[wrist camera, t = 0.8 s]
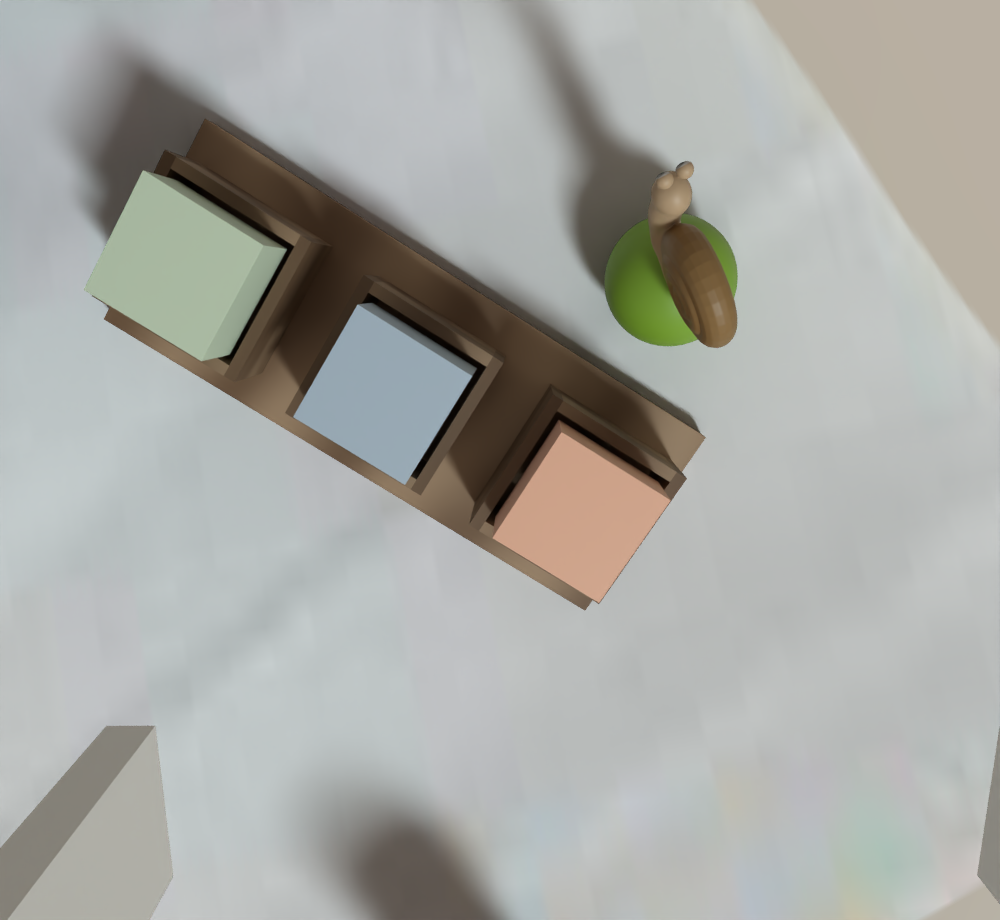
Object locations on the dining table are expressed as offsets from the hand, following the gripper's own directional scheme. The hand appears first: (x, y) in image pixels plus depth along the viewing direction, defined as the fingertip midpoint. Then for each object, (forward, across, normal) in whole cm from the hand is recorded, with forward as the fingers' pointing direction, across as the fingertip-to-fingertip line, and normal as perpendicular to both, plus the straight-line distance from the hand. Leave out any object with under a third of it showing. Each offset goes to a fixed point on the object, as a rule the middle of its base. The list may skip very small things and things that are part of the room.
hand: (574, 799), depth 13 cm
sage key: (+23, -13, +8) cm, 27 cm away
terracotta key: (+22, +2, -2) cm, 22 cm away
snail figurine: (+26, +6, +8) cm, 28 cm away
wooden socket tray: (+26, -6, +3) cm, 27 cm away
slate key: (+22, -6, +3) cm, 23 cm away
